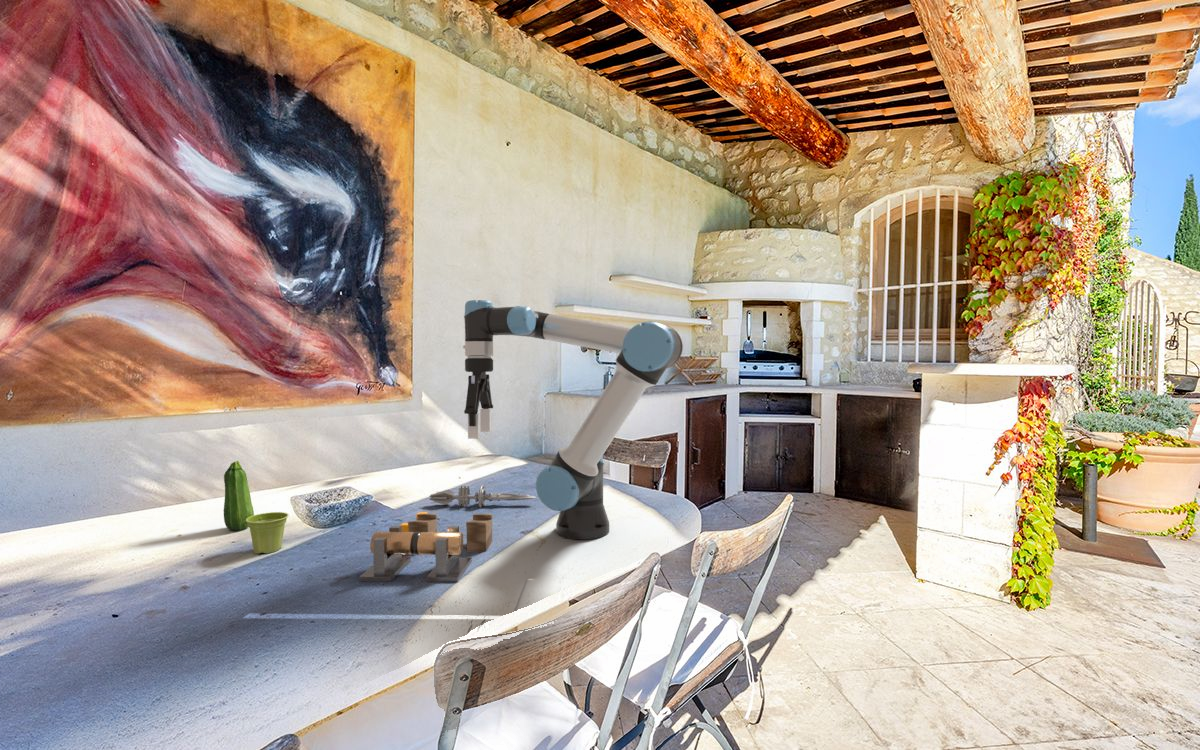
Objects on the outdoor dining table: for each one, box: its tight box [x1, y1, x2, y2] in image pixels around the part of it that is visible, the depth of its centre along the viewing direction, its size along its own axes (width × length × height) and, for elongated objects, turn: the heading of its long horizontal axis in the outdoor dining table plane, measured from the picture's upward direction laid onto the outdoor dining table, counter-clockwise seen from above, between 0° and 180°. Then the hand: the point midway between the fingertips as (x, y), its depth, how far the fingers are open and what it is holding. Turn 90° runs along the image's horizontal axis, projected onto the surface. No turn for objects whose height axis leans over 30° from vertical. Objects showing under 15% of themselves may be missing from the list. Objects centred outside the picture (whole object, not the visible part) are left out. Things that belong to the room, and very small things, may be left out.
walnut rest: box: [407, 513, 493, 552], centre depth 140 cm, size 20×8×8 cm, turn 89°
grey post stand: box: [358, 525, 473, 583], centre depth 124 cm, size 22×12×9 cm, turn 89°
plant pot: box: [246, 511, 289, 554], centre depth 138 cm, size 9×9×9 cm
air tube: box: [370, 531, 464, 556], centre depth 124 cm, size 20×5×5 cm, turn 89°
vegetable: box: [223, 460, 255, 532], centre depth 154 cm, size 7×7×20 cm
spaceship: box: [428, 484, 537, 509], centre depth 176 cm, size 8×35×8 cm, turn 90°
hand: (479, 434), depth 146 cm, fingers open, 13 cm apart
